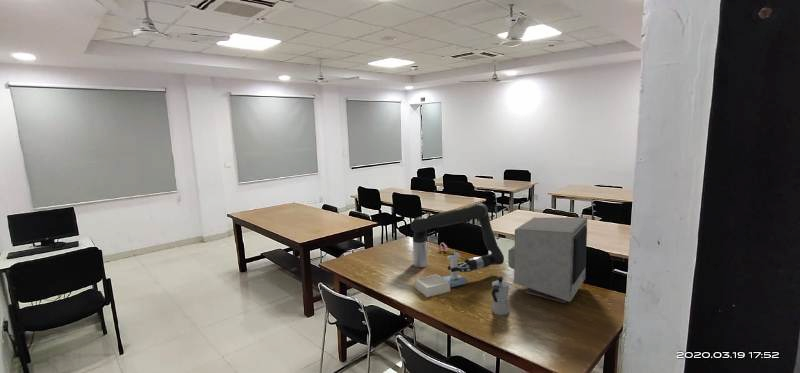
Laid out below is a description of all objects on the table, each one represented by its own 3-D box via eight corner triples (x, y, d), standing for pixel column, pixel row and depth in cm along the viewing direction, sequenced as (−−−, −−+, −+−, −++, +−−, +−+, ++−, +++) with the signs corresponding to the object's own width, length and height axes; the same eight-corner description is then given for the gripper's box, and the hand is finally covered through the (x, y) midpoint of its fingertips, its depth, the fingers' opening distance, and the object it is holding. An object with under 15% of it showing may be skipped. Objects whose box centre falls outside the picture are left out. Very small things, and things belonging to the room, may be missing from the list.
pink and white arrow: (459, 260, 268) (439, 250, 282) (460, 259, 269) (440, 249, 283) (460, 251, 266) (440, 242, 280) (461, 251, 267) (441, 241, 281)
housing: (414, 287, 218) (414, 278, 217) (437, 282, 224) (436, 273, 223) (427, 297, 204) (426, 288, 203) (450, 291, 210) (450, 282, 209)
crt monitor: (573, 312, 181) (575, 233, 175) (500, 294, 204) (500, 223, 198) (587, 287, 209) (590, 217, 203) (522, 273, 231) (522, 211, 225)
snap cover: (441, 280, 222) (440, 254, 220) (457, 276, 227) (456, 251, 224) (451, 287, 213) (450, 259, 210) (467, 283, 217) (466, 256, 214)
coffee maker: (497, 304, 192) (497, 271, 190) (514, 308, 187) (514, 274, 184) (484, 315, 181) (484, 280, 179) (501, 320, 176) (501, 284, 173)
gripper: (467, 254, 230) (443, 259, 223) (481, 261, 217) (456, 266, 210) (467, 266, 231) (443, 271, 224) (481, 273, 218) (456, 279, 211)
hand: (449, 269), depth 217 cm, fingers closed on snap cover, 3 cm apart
